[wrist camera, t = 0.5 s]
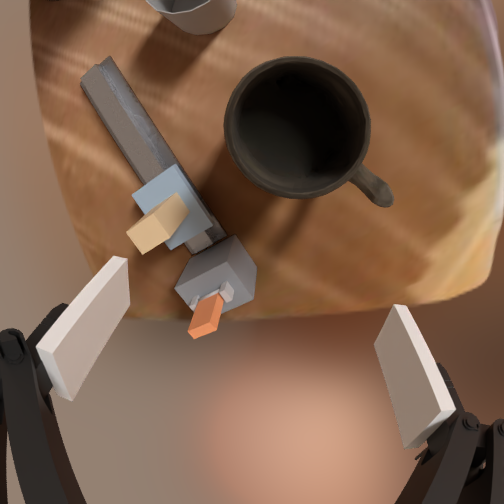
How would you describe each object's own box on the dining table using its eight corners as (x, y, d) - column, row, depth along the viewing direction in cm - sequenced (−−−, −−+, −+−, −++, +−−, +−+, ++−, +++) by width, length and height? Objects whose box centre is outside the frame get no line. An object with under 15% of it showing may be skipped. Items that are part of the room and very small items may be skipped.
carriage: (141, 188, 40) (101, 216, 30) (180, 160, 38) (147, 180, 28) (177, 239, 43) (149, 281, 33) (217, 216, 41) (198, 254, 31)
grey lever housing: (189, 259, 45) (169, 297, 36) (235, 234, 42) (224, 269, 33) (212, 289, 47) (198, 331, 38) (257, 267, 45) (252, 309, 36)
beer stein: (223, 137, 37) (193, 172, 19) (259, 62, 32) (265, 23, 14) (329, 187, 40) (385, 261, 22) (367, 119, 35) (456, 143, 17)
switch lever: (199, 295, 37) (186, 330, 31) (219, 286, 36) (209, 321, 30) (206, 304, 38) (194, 339, 32) (226, 294, 37) (217, 330, 31)
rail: (81, 83, 33) (71, 83, 31) (110, 56, 32) (101, 54, 30) (193, 253, 44) (188, 261, 42) (227, 234, 43) (224, 241, 40)
